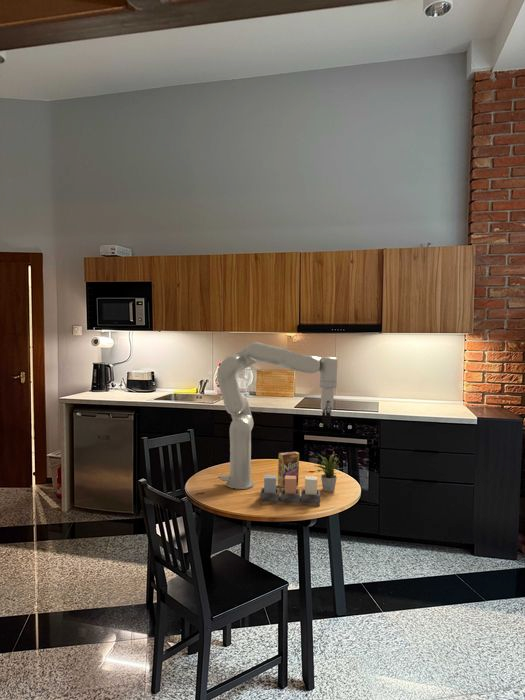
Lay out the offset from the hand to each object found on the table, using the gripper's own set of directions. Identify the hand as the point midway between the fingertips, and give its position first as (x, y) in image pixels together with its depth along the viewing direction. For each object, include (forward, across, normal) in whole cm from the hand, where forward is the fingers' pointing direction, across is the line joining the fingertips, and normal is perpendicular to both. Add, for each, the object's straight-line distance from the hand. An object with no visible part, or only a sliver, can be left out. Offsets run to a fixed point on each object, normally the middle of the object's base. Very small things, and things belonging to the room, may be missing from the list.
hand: (326, 422), depth 225 cm
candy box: (+31, -4, -16) cm, 35 cm away
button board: (+31, +17, -15) cm, 38 cm away
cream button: (+27, +17, -7) cm, 33 cm away
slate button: (+28, +17, -24) cm, 40 cm away
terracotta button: (+28, +17, -15) cm, 36 cm away
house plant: (+31, -1, +2) cm, 31 cm away
